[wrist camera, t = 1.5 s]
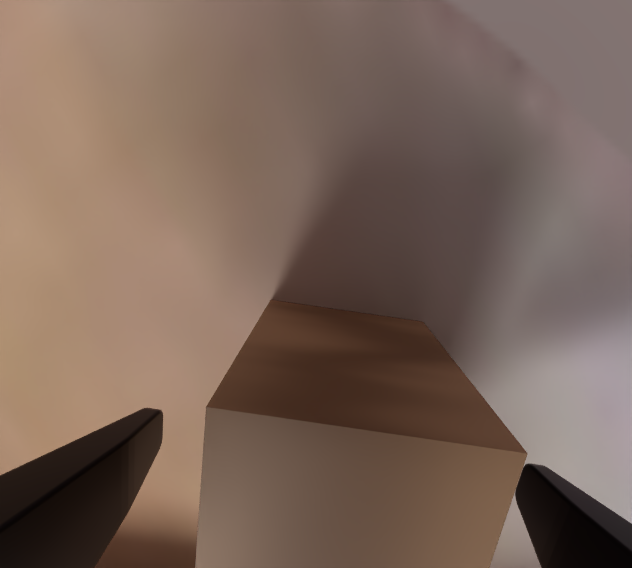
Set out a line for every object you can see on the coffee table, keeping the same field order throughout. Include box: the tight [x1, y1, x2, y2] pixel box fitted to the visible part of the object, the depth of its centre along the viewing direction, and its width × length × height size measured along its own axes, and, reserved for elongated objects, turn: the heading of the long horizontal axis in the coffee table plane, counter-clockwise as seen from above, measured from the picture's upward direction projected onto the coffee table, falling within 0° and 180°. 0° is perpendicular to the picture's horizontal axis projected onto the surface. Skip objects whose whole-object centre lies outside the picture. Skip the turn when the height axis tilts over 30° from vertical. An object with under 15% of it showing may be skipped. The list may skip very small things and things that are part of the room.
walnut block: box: [195, 300, 528, 568], centre depth 9 cm, size 5×5×6 cm
